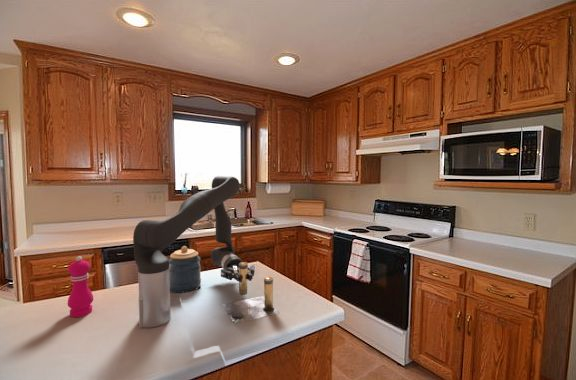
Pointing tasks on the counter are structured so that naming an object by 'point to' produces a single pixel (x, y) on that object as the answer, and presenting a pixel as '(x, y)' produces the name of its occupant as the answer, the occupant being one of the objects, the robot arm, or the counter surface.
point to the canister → (184, 270)
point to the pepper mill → (80, 289)
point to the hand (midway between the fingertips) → (245, 278)
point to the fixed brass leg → (268, 293)
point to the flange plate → (248, 309)
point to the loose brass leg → (243, 278)
